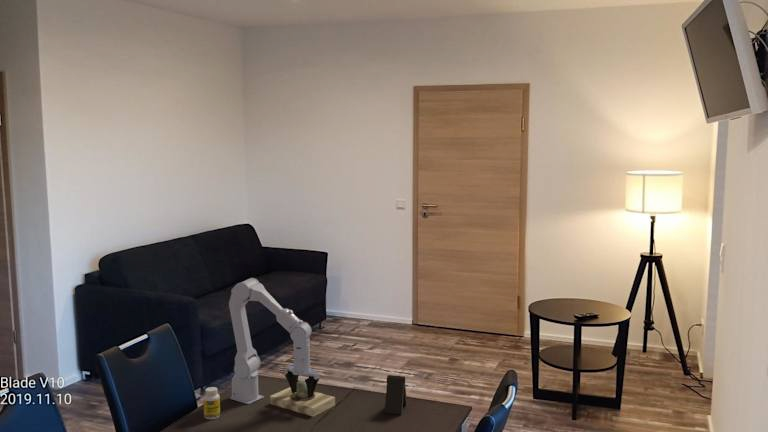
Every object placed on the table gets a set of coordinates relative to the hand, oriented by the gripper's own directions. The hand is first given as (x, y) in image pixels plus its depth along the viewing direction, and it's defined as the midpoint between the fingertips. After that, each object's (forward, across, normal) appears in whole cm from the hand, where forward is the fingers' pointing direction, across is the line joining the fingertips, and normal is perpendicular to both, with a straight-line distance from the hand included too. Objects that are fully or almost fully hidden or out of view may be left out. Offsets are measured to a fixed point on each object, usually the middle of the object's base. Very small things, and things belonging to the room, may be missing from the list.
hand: (302, 394), depth 238 cm
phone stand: (+4, +30, +15) cm, 34 cm away
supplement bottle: (+4, -19, -25) cm, 32 cm away
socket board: (+4, 0, 0) cm, 4 cm away
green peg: (+4, 0, 0) cm, 4 cm away
